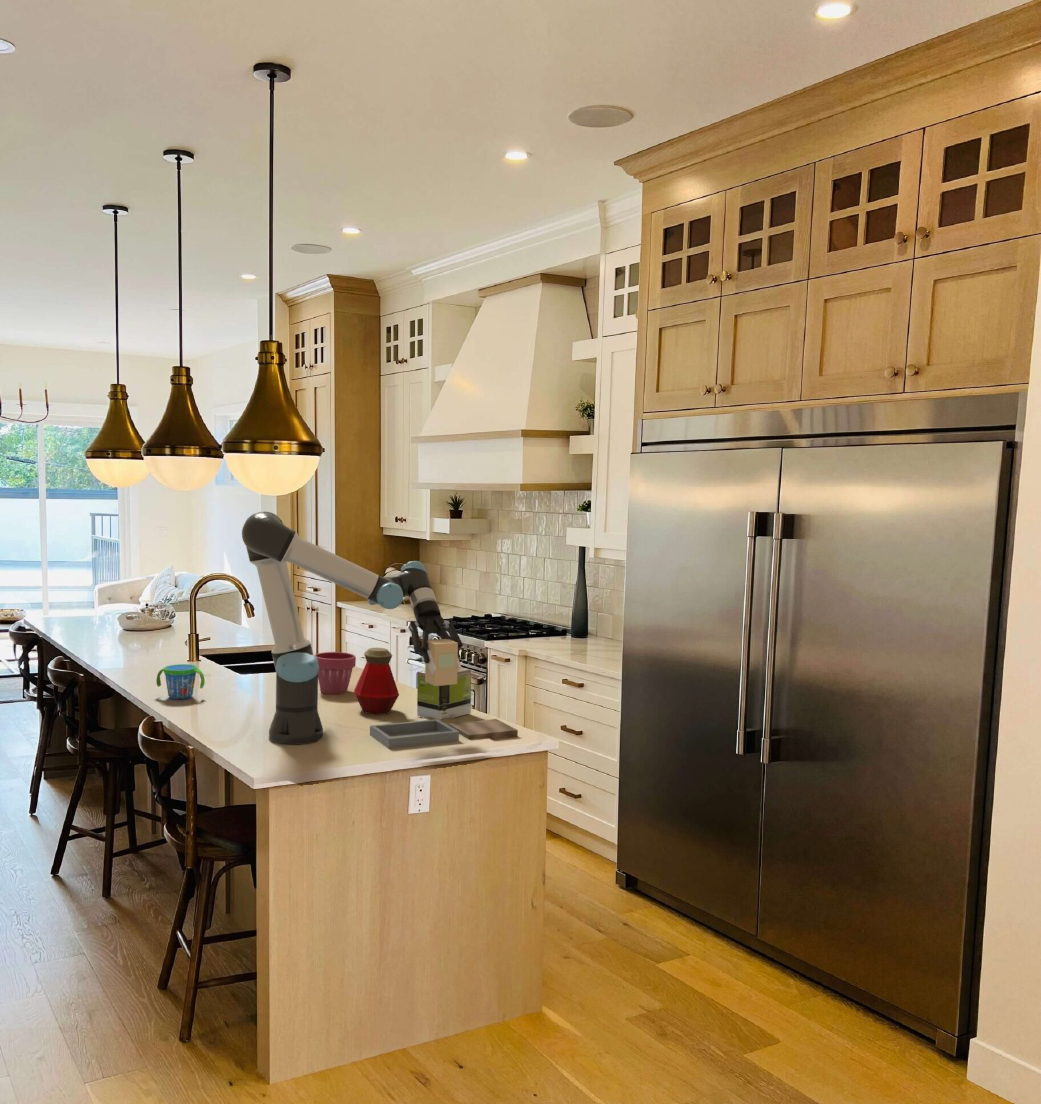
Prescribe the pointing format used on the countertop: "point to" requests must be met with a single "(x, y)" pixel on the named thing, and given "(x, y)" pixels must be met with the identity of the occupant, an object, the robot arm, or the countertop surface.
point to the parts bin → (413, 733)
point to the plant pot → (335, 671)
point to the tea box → (444, 697)
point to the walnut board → (485, 729)
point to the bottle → (376, 683)
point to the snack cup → (180, 680)
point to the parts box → (442, 662)
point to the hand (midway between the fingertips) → (446, 670)
